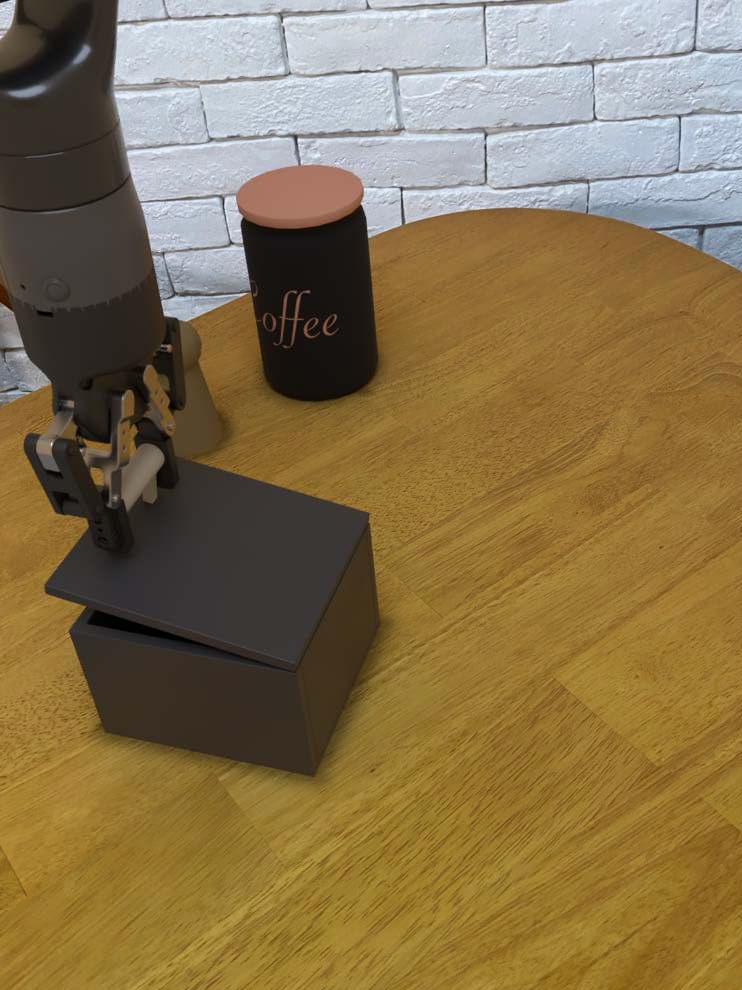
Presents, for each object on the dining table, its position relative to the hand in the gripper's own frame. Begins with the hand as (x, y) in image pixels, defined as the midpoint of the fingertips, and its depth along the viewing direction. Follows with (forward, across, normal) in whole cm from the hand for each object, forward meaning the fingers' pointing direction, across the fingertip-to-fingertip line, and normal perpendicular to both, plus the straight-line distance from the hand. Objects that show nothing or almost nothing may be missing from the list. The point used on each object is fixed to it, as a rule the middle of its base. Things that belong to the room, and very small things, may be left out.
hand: (139, 514), depth 69 cm
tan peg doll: (+14, -25, -11) cm, 31 cm away
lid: (+2, 0, +5) cm, 5 cm away
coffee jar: (+14, -37, -3) cm, 40 cm away
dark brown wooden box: (+14, 0, +5) cm, 15 cm away
